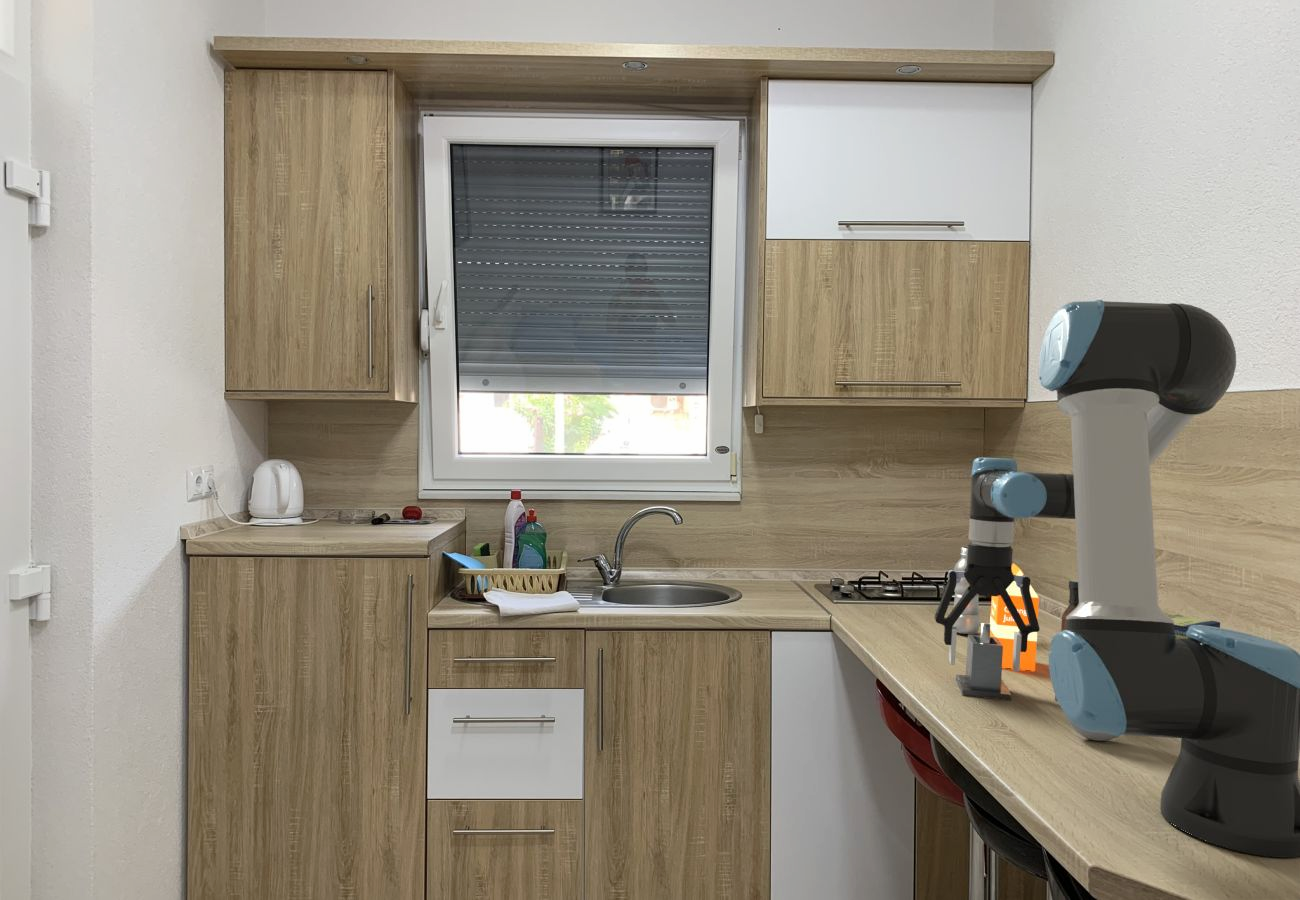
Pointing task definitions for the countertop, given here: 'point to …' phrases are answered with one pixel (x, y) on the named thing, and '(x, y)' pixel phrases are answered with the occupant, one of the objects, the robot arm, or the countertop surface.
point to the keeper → (981, 692)
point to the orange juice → (1013, 625)
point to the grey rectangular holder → (984, 663)
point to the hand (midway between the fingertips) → (983, 666)
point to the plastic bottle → (970, 615)
